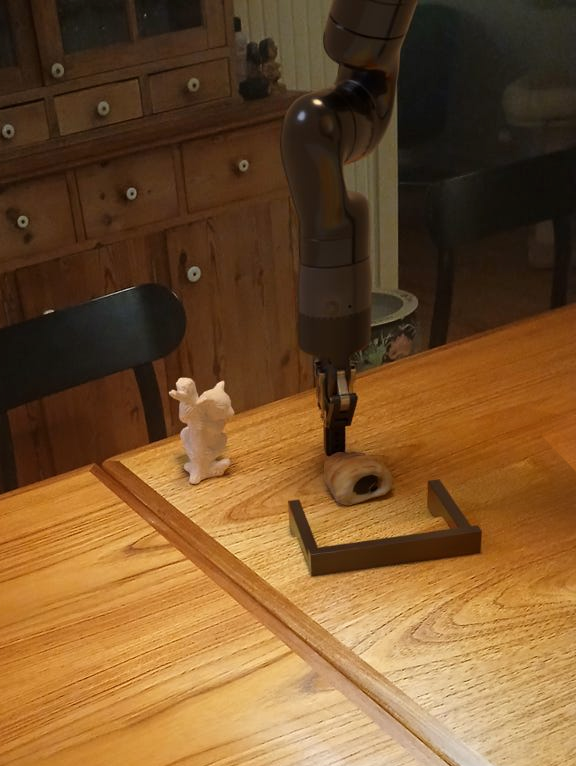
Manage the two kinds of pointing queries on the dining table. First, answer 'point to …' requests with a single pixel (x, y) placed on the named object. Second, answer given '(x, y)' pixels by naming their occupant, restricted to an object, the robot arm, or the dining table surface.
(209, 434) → the white animal figurine
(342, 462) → the pastry
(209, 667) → the dining table surface
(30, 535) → the dining table surface
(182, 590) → the dining table surface
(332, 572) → the frame
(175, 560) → the dining table surface
